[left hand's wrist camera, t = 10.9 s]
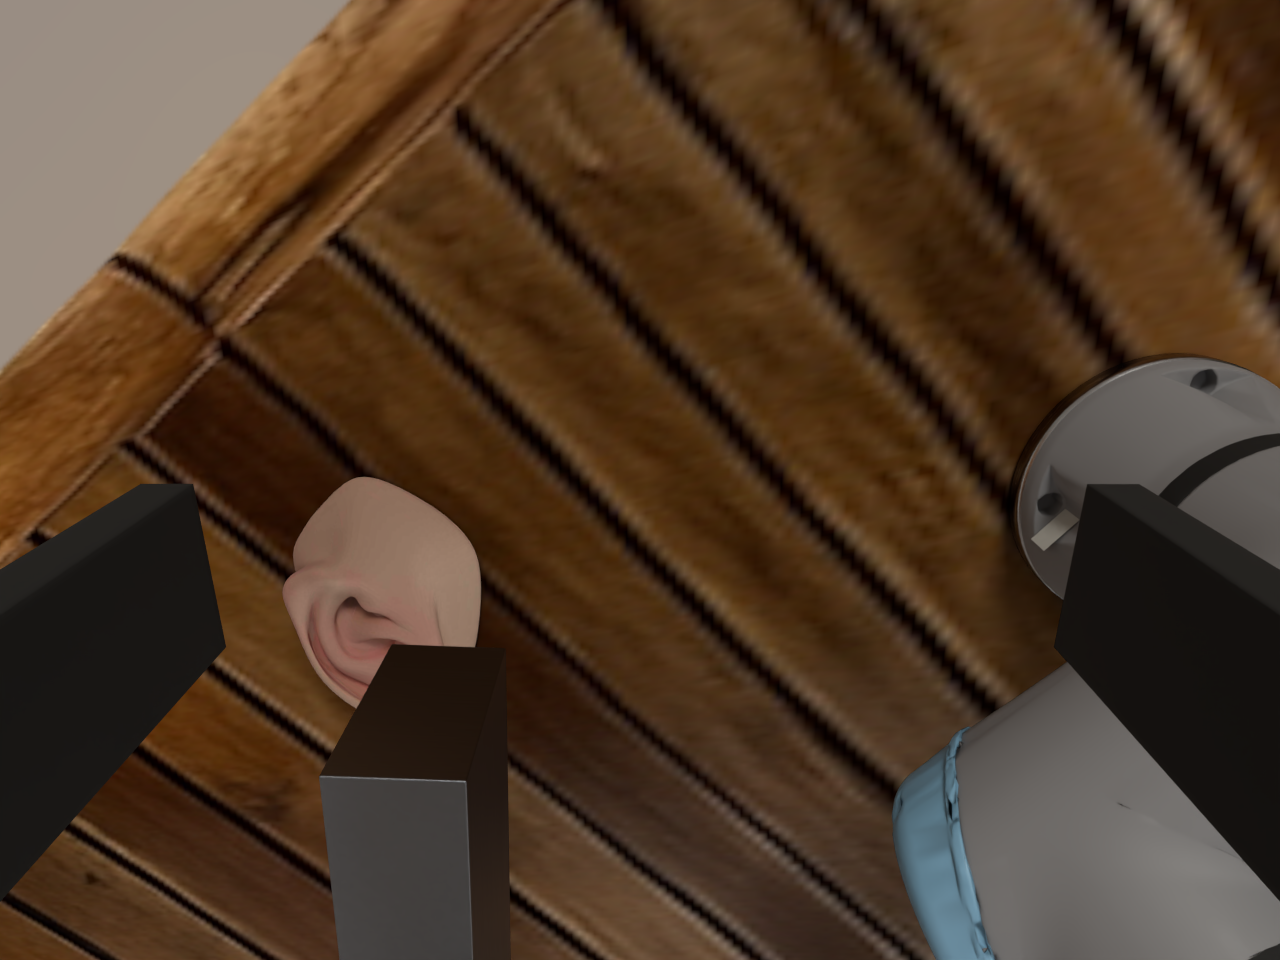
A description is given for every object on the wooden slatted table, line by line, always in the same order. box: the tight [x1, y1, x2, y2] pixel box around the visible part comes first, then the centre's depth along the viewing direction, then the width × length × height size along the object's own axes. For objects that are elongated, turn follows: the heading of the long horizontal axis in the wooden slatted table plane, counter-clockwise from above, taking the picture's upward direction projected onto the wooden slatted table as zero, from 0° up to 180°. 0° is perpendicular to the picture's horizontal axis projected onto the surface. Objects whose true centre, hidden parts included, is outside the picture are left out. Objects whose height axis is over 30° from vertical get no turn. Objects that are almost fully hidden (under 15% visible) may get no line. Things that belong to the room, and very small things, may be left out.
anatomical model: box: [283, 477, 481, 708], centre depth 46 cm, size 13×4×12 cm
